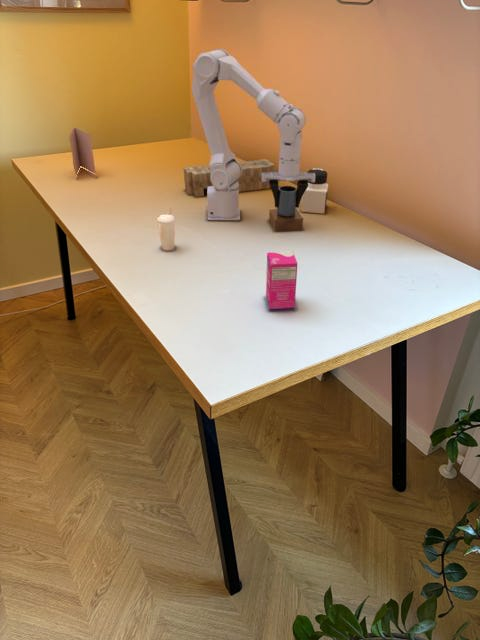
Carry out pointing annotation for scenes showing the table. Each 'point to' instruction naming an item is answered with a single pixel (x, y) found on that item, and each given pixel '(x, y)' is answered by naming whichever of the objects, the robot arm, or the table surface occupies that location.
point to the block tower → (249, 180)
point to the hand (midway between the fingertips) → (286, 206)
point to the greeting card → (82, 152)
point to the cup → (287, 200)
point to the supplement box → (281, 280)
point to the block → (285, 221)
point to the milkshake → (167, 231)
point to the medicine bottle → (316, 193)
